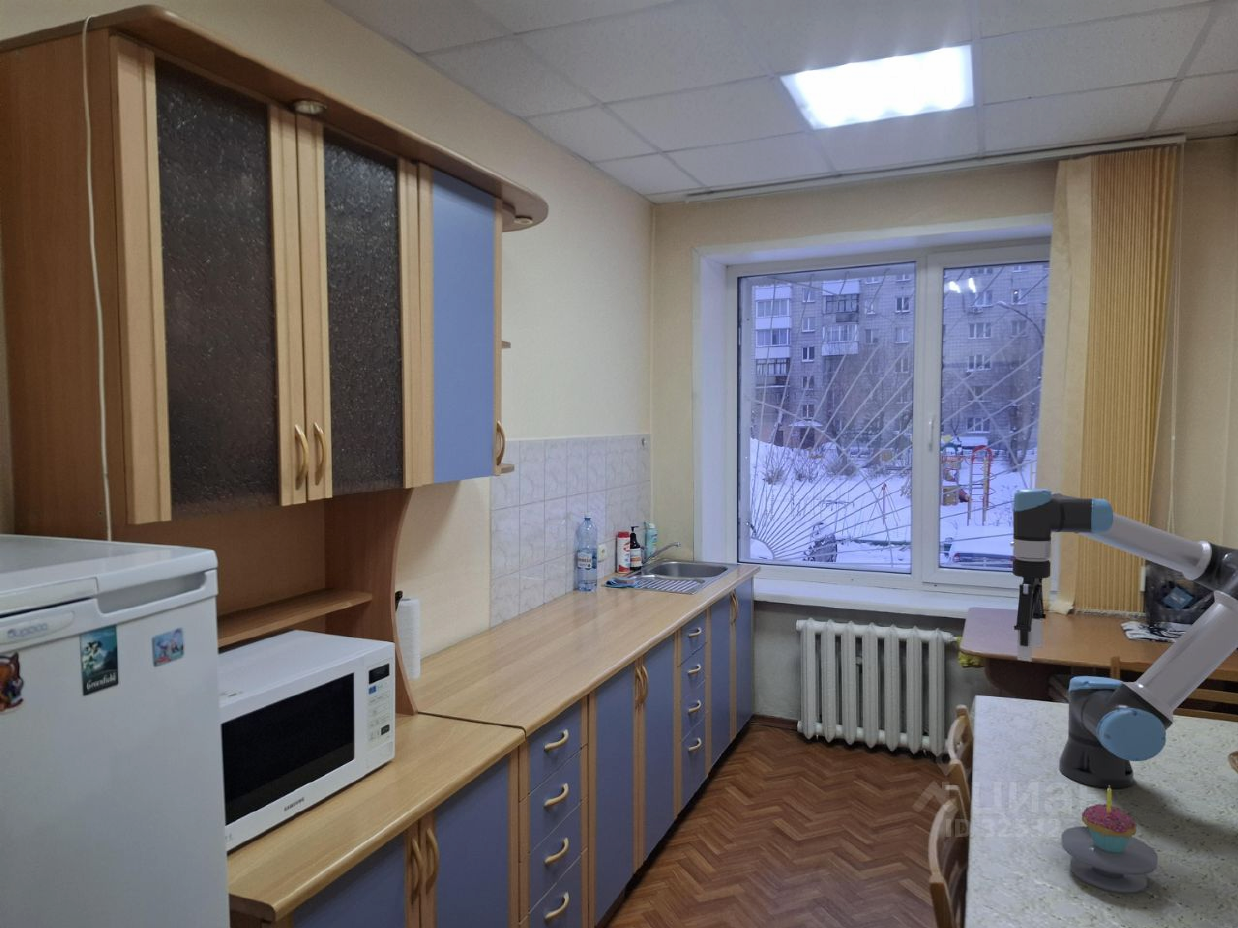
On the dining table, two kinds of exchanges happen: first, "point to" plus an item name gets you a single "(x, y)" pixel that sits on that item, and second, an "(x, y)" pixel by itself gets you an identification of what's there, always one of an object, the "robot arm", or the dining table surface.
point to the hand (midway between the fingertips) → (1030, 653)
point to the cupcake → (1109, 825)
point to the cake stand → (1109, 862)
